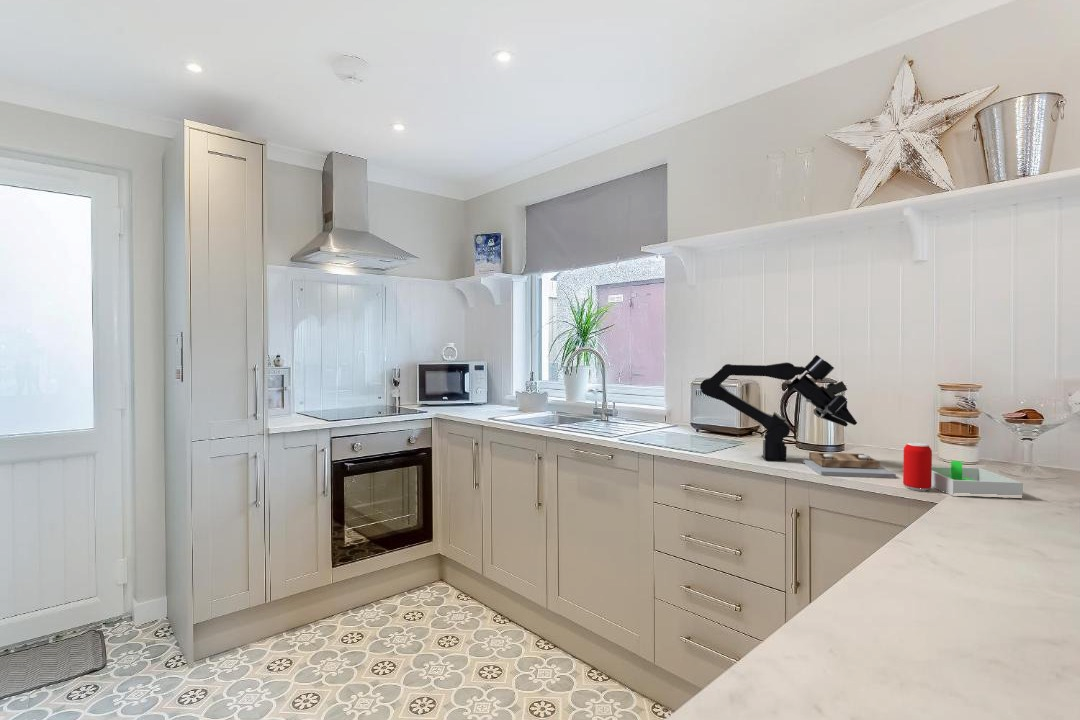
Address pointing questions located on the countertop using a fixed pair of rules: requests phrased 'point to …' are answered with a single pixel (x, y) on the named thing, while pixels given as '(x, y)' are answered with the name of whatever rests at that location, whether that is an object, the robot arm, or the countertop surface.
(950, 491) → the frame
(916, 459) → the beverage can
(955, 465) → the mechanical part
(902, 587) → the countertop surface
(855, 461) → the panel
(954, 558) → the countertop surface
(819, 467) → the boss board
